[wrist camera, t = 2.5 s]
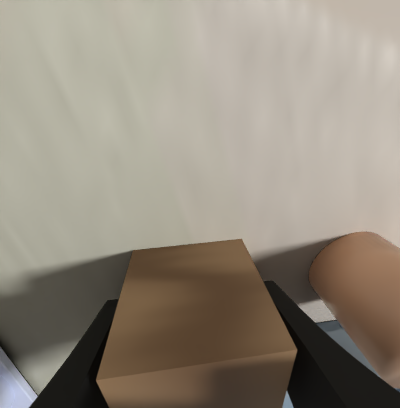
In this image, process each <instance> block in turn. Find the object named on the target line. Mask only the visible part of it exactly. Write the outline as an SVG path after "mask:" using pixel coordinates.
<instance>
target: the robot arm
mask: <svg viewBox="0 0 400 408" xmlns="http://www.w3.org/2000/svg"><path fill="white" fill-rule="evenodd" d="M264 284H265V286H266V288H267V290H268V292H269V294H270V296H271V298H272V300H273V302H274V304H275V306H276V308H277V310H278V312H279V314H280V316H281V318H282V320H283V322H284V324H285V326H286V328H287V330H288V332H289V334H290V336H291V338H292V340H293V342H294V344H295V346H296V348H297V353H296V357H295V361H294V364H293V368H292V372H291V376H290V380H289V384H288V387H287V392H288V395H289V397H290V400H291V402H292V405H293V408H400V392H399V391H397V390H396V389H395V388H393V387H392V386H391V385H389V384H388V383H387V382H385V381H384V380H383V379H381V378H380V377H379V376H377V375H376V374H375V373H373V372H372V371H371V370H370V369H368V368H367V367H366V366H365V365H363V364H362V363H361V362H360V361H358V360H357V359H356V358H355V357H353V356H352V355H351V354H350V353H349V352H347V351H346V350H345V349H344V348H343V347H342V346H340V345H339V344H338V343H337V342H336V341H335V340H334V339H332V338H331V337H330V336H329V335H328V334H327V333H326V332H325V331H323V330H322V329H321V328H320V327H319V326H318V325H317V324H316V323H315V322H314V321H313V320H312V319H311V318H310V317H309V316H307V315H306V314H305V313H304V312H303V311H302V310H301V309H300V308H299V307H298V306H297V305H296V304H295V303H294V302H293V301H292V300H291V299H290V298H289V297H288V296H287V295H286V294H285V293H284V292H283V291H282V289H281V288H280V287H279V286H278V285H277V284H276V283H275V282H274V281H265V282H264ZM118 301H119V299H115V300H108V301H107V302H106V303H105V304H104V306H103V307H102V309H101V310H100V312H99V313H98V315H97V316H96V318H95V319H94V321H93V322H92V324H91V325H90V327H89V328H88V330H87V331H86V333H85V334H84V336H83V337H82V338H81V340H80V341H79V343H78V344H77V345H76V347H75V348H74V350H73V351H72V352H71V354H70V355H69V357H68V358H67V359H66V361H65V362H64V363H63V365H62V366H61V367H60V369H59V370H58V371H57V372H56V374H55V375H54V376H53V378H52V379H51V380H50V382H49V383H48V384H47V386H46V387H45V388H44V389H43V391H42V392H41V393H40V394H39V396H37V395H36V393H35V392H34V391H33V389H32V388H31V387H30V385H29V384H28V383H27V382H26V380H25V379H24V378H23V376H22V375H21V374H20V372H19V371H18V370H17V368H16V367H15V366H14V364H13V363H12V362H11V360H10V359H9V358H8V357H7V355H6V354H5V353H4V351H3V350H2V349H1V347H0V408H109V406H108V404H107V402H106V400H105V398H104V396H103V394H102V392H101V390H100V388H99V386H98V384H97V382H96V378H97V375H98V371H99V368H100V364H101V361H102V357H103V354H104V350H105V347H106V343H107V340H108V336H109V333H110V329H111V326H112V322H113V319H114V315H115V311H116V308H117V304H118Z"/></svg>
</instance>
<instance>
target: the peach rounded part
mask: <svg viewBox="0 0 400 408" xmlns="http://www.w3.org/2000/svg"><path fill="white" fill-rule="evenodd" d="M309 282H310V284H311V286H312V288H313V289H314V290H315V292H316V293H317V294H318V295H319V297H320V298H321V299H322V301H323V302H324V303H325V305H326V306H327V307H328V309H329V310H330V311H331V313H332V314H333V315H334V317H335V318H336V319H337V321H338V322H339V323H340V325H341V326H342V327H343V329H344V330H345V331H346V333H347V334H348V335H349V337H350V338H351V339H352V341H353V342H354V343H355V345H356V346H357V347H358V349H359V350H360V351H361V352H362V354H363V355H364V356H365V358H366V359H367V360H368V362H369V363H370V364H371V366H372V367H373V368H374V370H375V371H376V372H377V374H378V375H379V376H380V378H381V379H383V380H384V381H385V382H387V383H388V384H389V385H391V386H392V387H393V388H398V389H400V248H398V247H397V246H395V245H394V244H392V243H390V242H389V241H387V240H386V239H384V238H383V237H381V236H379V235H378V234H375V233H372V232H356V233H351V234H348V235H345V236H343V237H340V238H338V239H336V240H335V241H333V242H332V243H330V244H329V245H327V246H326V247H325V248H324V249H323V250H322V251H321V252H320V253H319V254H318V255H317V256H316V258H315V259H314V261H313V263H312V265H311V267H310V270H309Z"/></svg>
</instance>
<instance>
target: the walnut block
mask: <svg viewBox="0 0 400 408" xmlns="http://www.w3.org/2000/svg"><path fill="white" fill-rule="evenodd" d="M296 353H297V348H296V346H295V344H294V342H293V340H292V338H291V336H290V334H289V332H288V330H287V328H286V326H285V324H284V322H283V320H282V318H281V316H280V314H279V312H278V310H277V308H276V306H275V304H274V302H273V300H272V298H271V296H270V294H269V292H268V290H267V288H266V286H265V284H264V282H263V280H262V278H261V276H260V274H259V272H258V270H257V268H256V266H255V264H254V262H253V260H252V258H251V256H250V254H249V252H248V251H247V249H246V247H245V245H244V243H243V241H242V239H236V240H227V241H217V242H207V243H198V244H188V245H179V246H169V247H160V248H150V249H141V250H133V252H132V255H131V259H130V262H129V266H128V269H127V273H126V276H125V280H124V283H123V287H122V290H121V294H120V297H119V301H118V304H117V308H116V311H115V315H114V319H113V322H112V326H111V329H110V333H109V336H108V340H107V343H106V347H105V350H104V354H103V357H102V361H101V364H100V368H99V371H98V375H97V378H96V382H97V384H98V386H99V388H100V390H101V392H102V394H103V396H104V398H105V400H106V402H107V404H108V406H109V408H282V407H283V403H284V399H285V395H286V391H287V387H288V384H289V380H290V376H291V372H292V368H293V364H294V361H295V357H296Z"/></svg>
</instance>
